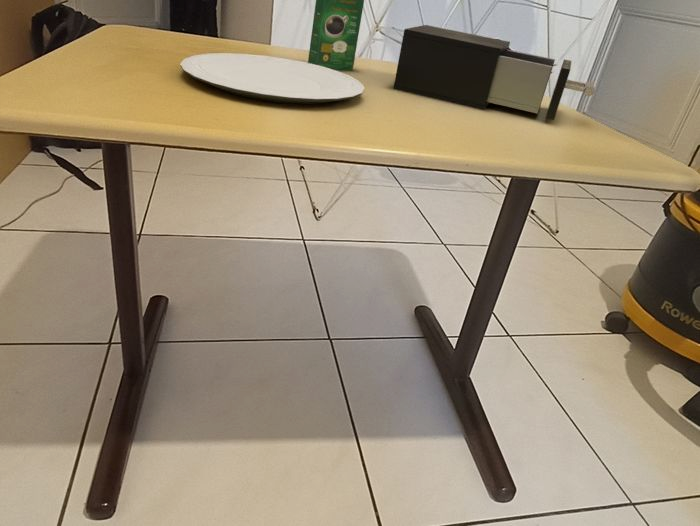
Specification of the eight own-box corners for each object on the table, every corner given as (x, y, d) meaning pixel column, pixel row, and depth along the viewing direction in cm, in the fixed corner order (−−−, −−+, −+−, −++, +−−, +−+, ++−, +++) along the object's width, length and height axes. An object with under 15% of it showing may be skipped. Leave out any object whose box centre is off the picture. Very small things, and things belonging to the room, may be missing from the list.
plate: (385, 119, 71) (388, 105, 70) (180, 102, 64) (180, 85, 63) (339, 75, 92) (340, 63, 91) (180, 58, 84) (180, 45, 83)
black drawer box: (495, 97, 96) (510, 41, 92) (483, 111, 85) (500, 48, 81) (414, 79, 100) (425, 24, 95) (392, 90, 88) (404, 28, 84)
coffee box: (345, 68, 99) (356, -14, 92) (354, 72, 97) (367, -12, 90) (306, 67, 94) (315, -20, 88) (315, 71, 92) (325, -17, 86)
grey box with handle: (583, 112, 92) (599, 66, 88) (583, 127, 81) (601, 76, 78) (477, 88, 96) (488, 43, 93) (464, 99, 86) (477, 50, 82)
